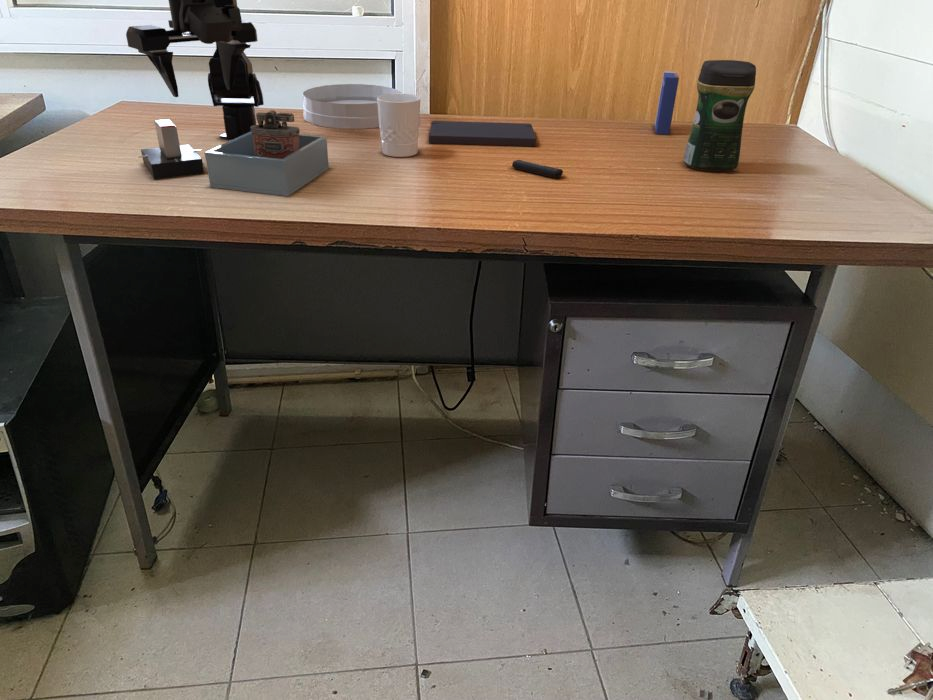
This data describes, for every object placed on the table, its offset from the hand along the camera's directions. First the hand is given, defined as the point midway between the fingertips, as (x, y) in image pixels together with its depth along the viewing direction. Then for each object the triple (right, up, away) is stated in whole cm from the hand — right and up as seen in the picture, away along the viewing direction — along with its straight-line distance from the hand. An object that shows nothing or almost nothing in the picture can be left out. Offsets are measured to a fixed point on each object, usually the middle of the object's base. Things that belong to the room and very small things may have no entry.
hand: (203, 93), depth 112 cm
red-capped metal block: (-8, -8, +6) cm, 13 cm away
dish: (+17, +11, +44) cm, 49 cm away
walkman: (+85, +7, +42) cm, 95 cm away
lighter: (+11, -12, +5) cm, 17 cm away
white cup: (+30, -4, +21) cm, 36 cm away
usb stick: (+55, -10, +12) cm, 57 cm away
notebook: (+45, +3, +32) cm, 56 cm away
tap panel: (-8, -10, +8) cm, 15 cm away
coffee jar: (+88, -7, +18) cm, 90 cm away
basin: (+10, -12, +5) cm, 16 cm away
